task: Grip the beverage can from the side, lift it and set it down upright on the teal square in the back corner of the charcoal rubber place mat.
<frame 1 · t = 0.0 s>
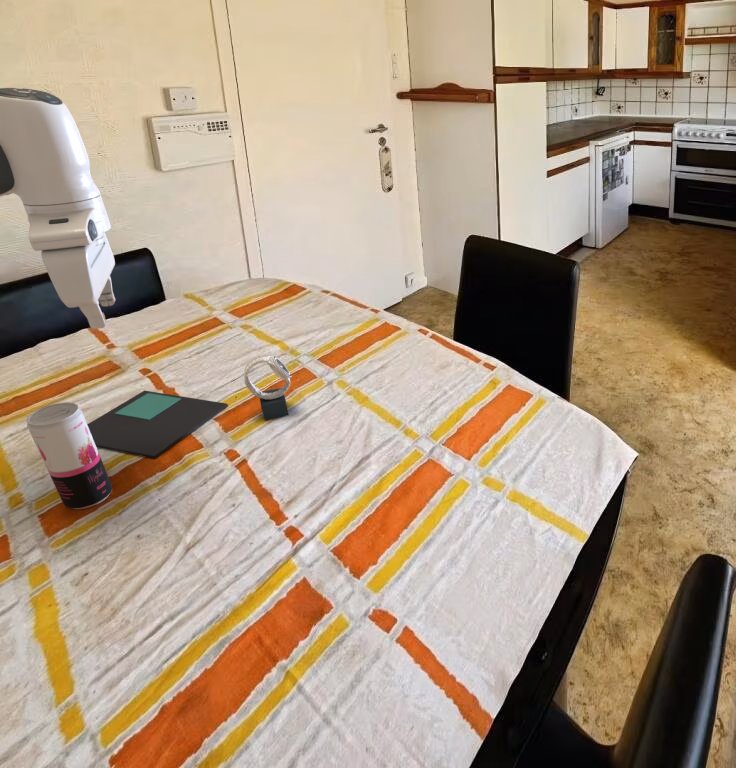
hand: (104, 315, 91), 26 cm above the table, tool pointing down, fingers open, 8 cm apart
corner pad: (149, 409, 119), resting on place mat
place mat: (149, 422, 114), on the table
watch: (276, 411, 117), on the table
beverage can: (89, 498, 96), on the table
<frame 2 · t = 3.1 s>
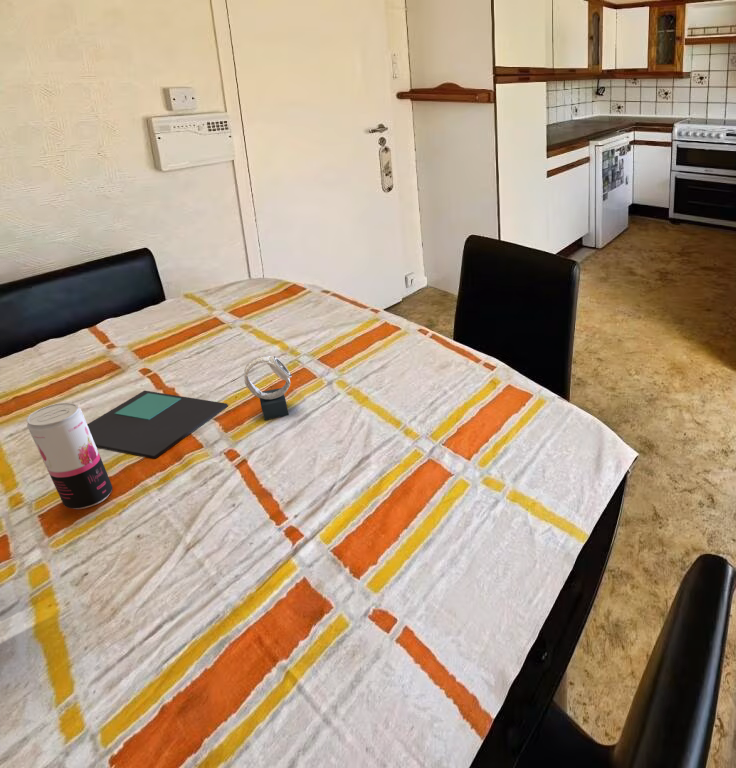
nothing on the table moved.
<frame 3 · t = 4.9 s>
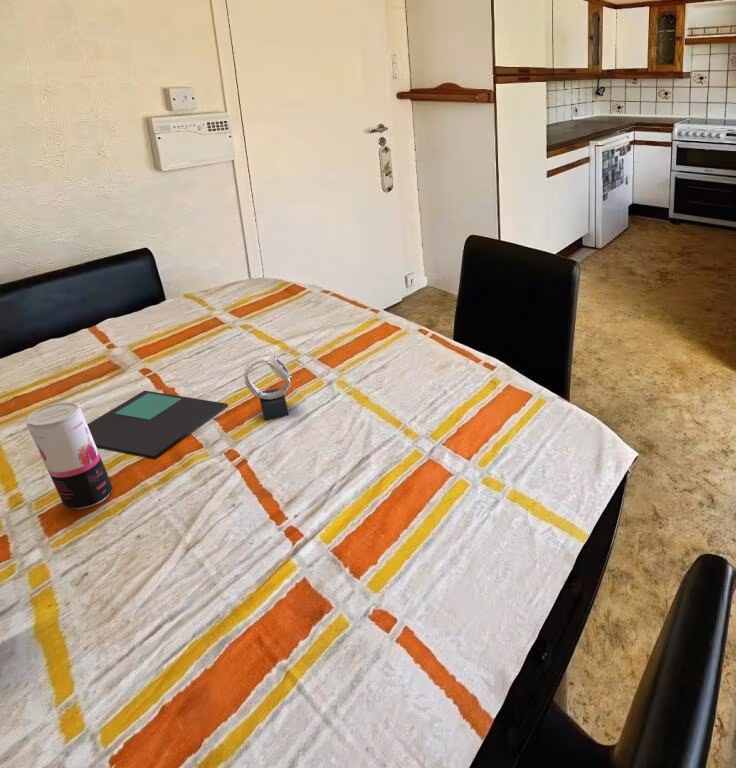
nothing on the table moved.
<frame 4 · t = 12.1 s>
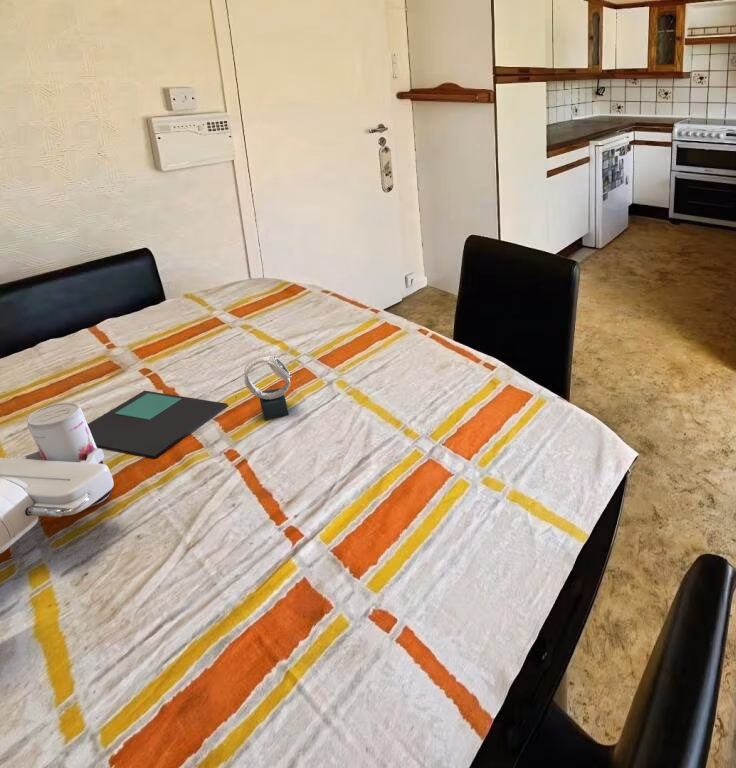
hand: (74, 450, 92), 8 cm above the table, tool horizontal, fingers closed on beverage can, 6 cm apart
beverage can: (89, 498, 96), on the table, touching gripper
everything else where it was.
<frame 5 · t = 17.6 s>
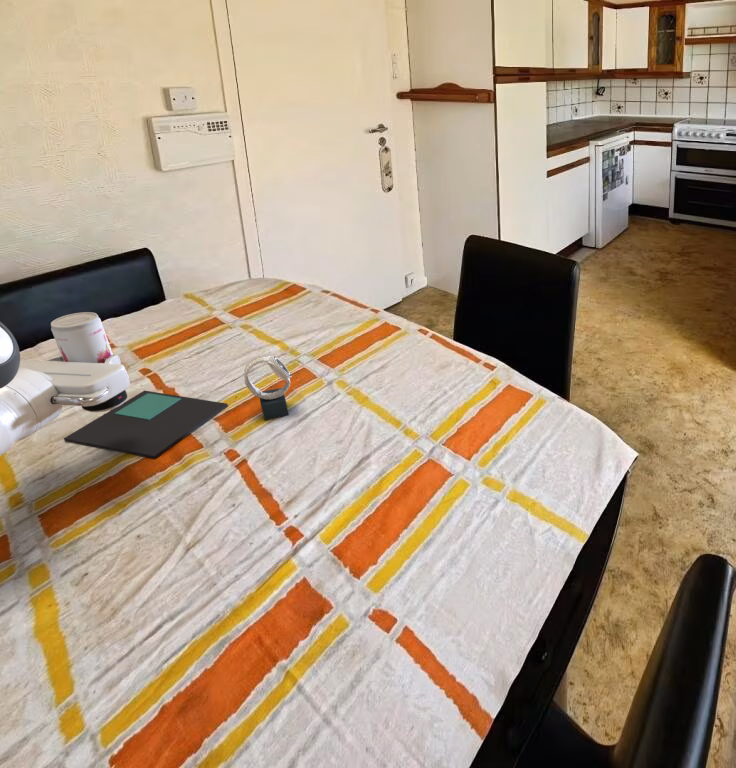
hand: (93, 357, 100), 17 cm above the table, tool horizontal, fingers closed on beverage can, 6 cm apart
beverage can: (106, 404, 103), point 9 cm above the table, touching gripper
everything else where it was.
when the fingers open (9 cm above the table, at t = 23.6 s): beverage can stays where it is, resting on corner pad.
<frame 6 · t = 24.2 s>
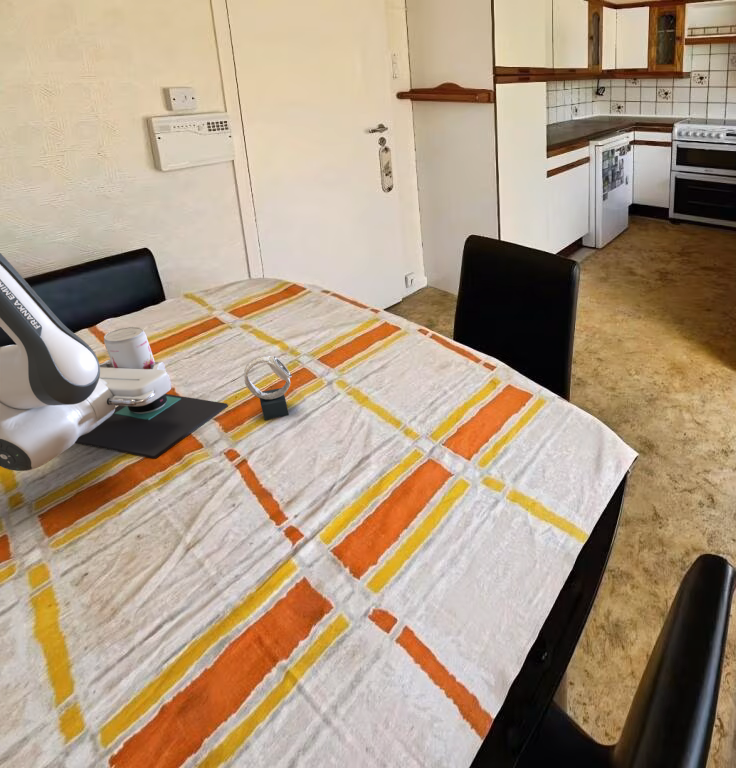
hand: (137, 364, 115), 9 cm above the table, tool horizontal, fingers open, 8 cm apart
beverage can: (149, 406, 118), point 1 cm above the table, touching corner pad
everything else where it was.
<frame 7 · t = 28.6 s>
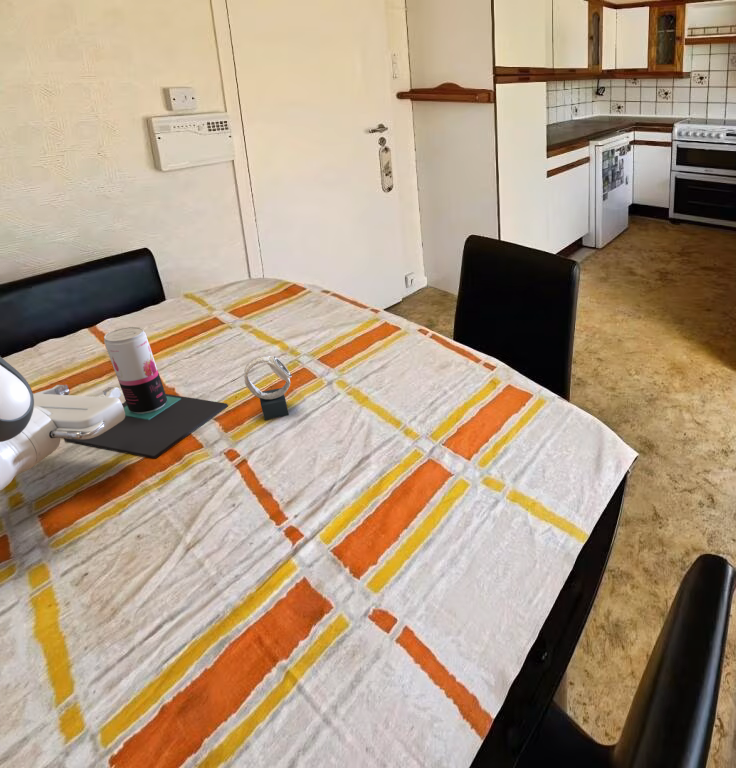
hand: (90, 389, 104), 10 cm above the table, tool horizontal, fingers open, 8 cm apart
nothing on the table moved.
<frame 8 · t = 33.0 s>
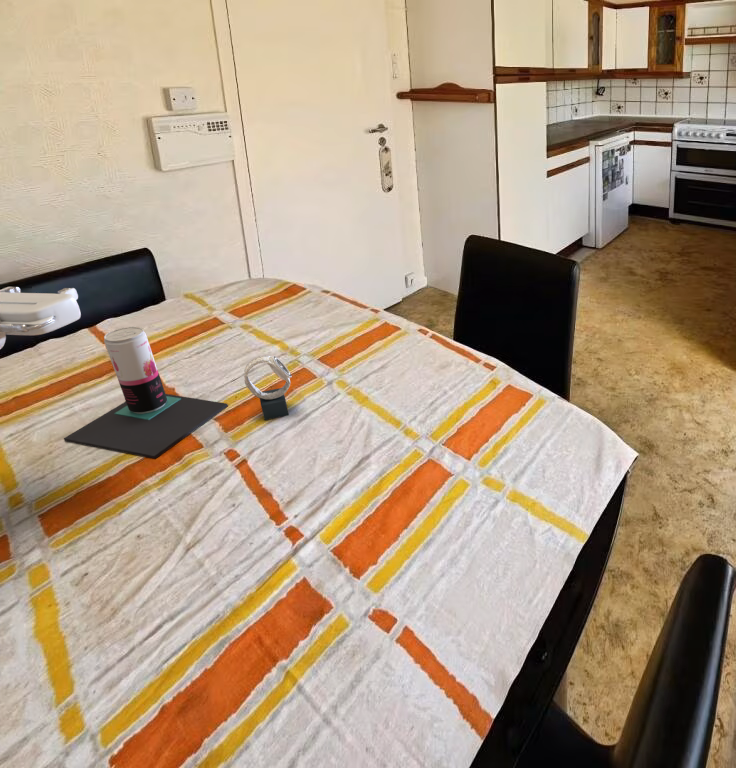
hand: (44, 292, 95), 28 cm above the table, tool horizontal, fingers open, 8 cm apart
nothing on the table moved.
at the end: beverage can 0.2 cm off-centre on the corner pad, point 0.6 cm above the corner pad's base; beverage can tilted 0°; the gripper is holding nothing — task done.
